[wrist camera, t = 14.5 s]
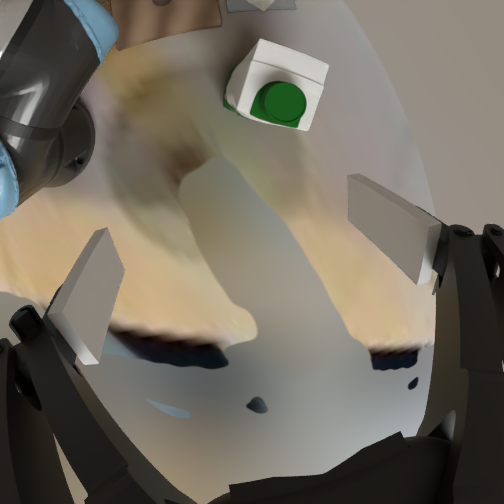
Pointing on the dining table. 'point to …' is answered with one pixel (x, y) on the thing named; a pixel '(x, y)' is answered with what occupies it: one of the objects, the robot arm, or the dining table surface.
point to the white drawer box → (261, 3)
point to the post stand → (161, 19)
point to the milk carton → (276, 86)
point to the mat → (239, 3)
